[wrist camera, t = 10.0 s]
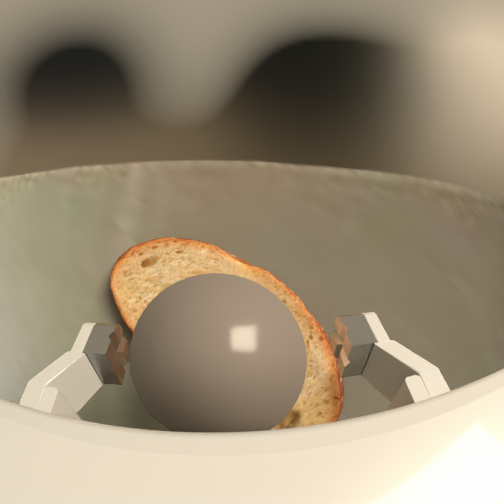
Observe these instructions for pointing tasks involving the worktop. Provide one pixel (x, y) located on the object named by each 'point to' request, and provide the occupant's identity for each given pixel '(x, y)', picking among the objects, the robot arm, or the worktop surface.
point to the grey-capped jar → (218, 356)
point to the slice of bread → (219, 261)
